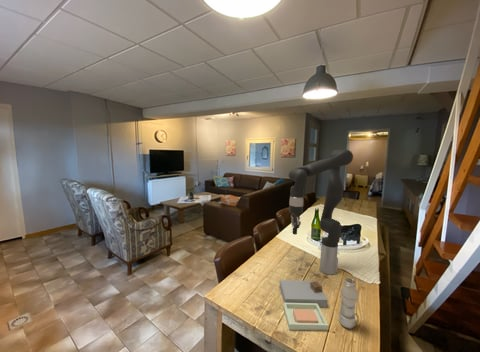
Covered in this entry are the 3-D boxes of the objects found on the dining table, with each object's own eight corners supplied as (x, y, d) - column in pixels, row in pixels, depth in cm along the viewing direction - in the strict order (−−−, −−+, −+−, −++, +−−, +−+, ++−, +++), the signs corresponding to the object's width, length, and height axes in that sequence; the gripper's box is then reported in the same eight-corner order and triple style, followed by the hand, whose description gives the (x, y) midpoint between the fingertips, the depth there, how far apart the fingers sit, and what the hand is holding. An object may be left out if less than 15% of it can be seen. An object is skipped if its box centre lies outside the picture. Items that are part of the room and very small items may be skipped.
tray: (317, 308, 94) (317, 303, 93) (327, 330, 82) (328, 325, 81) (283, 307, 94) (283, 302, 93) (289, 329, 82) (289, 324, 82)
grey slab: (316, 287, 108) (316, 280, 108) (327, 307, 94) (327, 299, 94) (279, 286, 108) (279, 280, 108) (285, 306, 94) (285, 298, 94)
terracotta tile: (318, 320, 82) (318, 327, 83) (313, 309, 88) (312, 315, 89) (296, 320, 82) (296, 326, 83) (293, 308, 88) (292, 315, 89)
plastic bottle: (338, 328, 83) (342, 283, 81) (337, 315, 89) (340, 274, 87) (356, 333, 81) (360, 288, 78) (353, 320, 87) (357, 278, 85)
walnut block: (316, 286, 103) (317, 281, 103) (321, 291, 99) (322, 286, 99) (310, 287, 102) (310, 282, 102) (314, 292, 98) (315, 287, 98)
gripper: (306, 207, 104) (304, 239, 106) (299, 201, 117) (297, 229, 119) (292, 207, 104) (290, 238, 106) (286, 201, 117) (285, 229, 119)
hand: (294, 233), depth 113 cm, fingers closed
